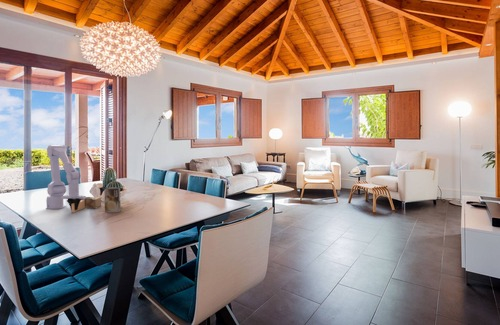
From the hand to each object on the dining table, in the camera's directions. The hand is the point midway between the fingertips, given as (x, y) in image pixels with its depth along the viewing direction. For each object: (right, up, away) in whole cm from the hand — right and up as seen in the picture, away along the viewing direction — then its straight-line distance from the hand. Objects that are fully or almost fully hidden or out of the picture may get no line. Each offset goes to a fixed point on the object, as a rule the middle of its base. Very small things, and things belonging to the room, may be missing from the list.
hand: (74, 209), depth 190 cm
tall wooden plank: (0, -1, +4) cm, 4 cm away
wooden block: (0, 0, +15) cm, 15 cm away
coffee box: (+24, -2, +4) cm, 24 cm away
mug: (+20, -1, +15) cm, 25 cm away
